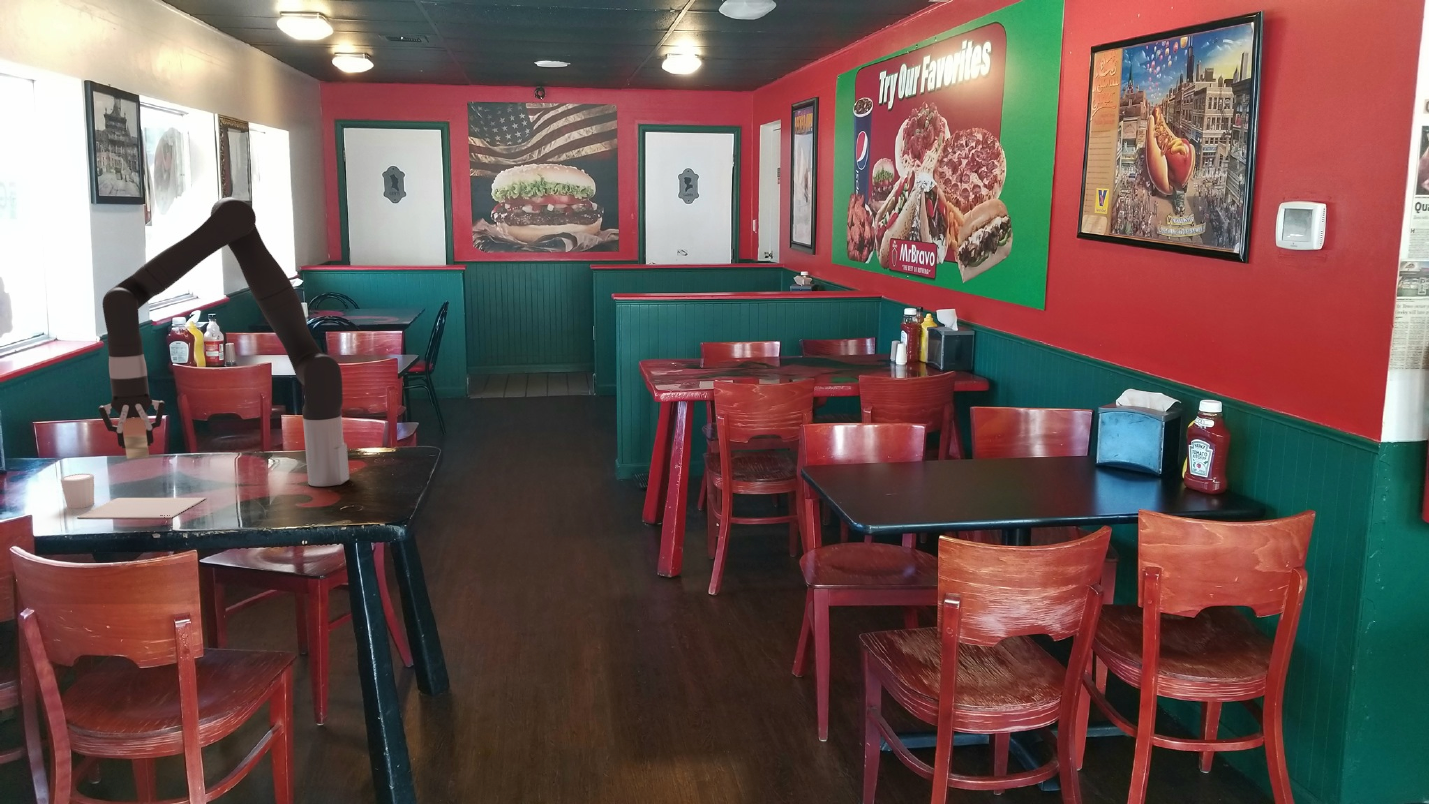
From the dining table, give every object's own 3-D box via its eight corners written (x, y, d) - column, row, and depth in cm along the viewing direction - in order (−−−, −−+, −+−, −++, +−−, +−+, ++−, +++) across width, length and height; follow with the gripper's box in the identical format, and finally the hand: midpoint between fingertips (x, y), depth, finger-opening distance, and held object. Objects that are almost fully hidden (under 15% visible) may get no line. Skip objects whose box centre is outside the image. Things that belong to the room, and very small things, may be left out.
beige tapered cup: (81, 509, 250) (78, 481, 248) (57, 508, 251) (53, 479, 250) (103, 501, 256) (100, 473, 255) (79, 500, 258) (76, 472, 256)
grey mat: (206, 498, 258) (206, 497, 258) (171, 518, 242) (171, 517, 242) (117, 499, 258) (117, 497, 258) (77, 518, 243) (76, 517, 243)
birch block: (147, 440, 254) (144, 416, 246) (149, 456, 252) (146, 432, 244) (125, 442, 252) (121, 418, 244) (127, 458, 249) (123, 435, 242)
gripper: (92, 379, 238) (101, 453, 241) (163, 374, 244) (171, 446, 248) (93, 375, 244) (101, 447, 247) (162, 369, 251) (170, 440, 254)
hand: (136, 446), depth 247 cm, fingers closed on birch block, 4 cm apart
